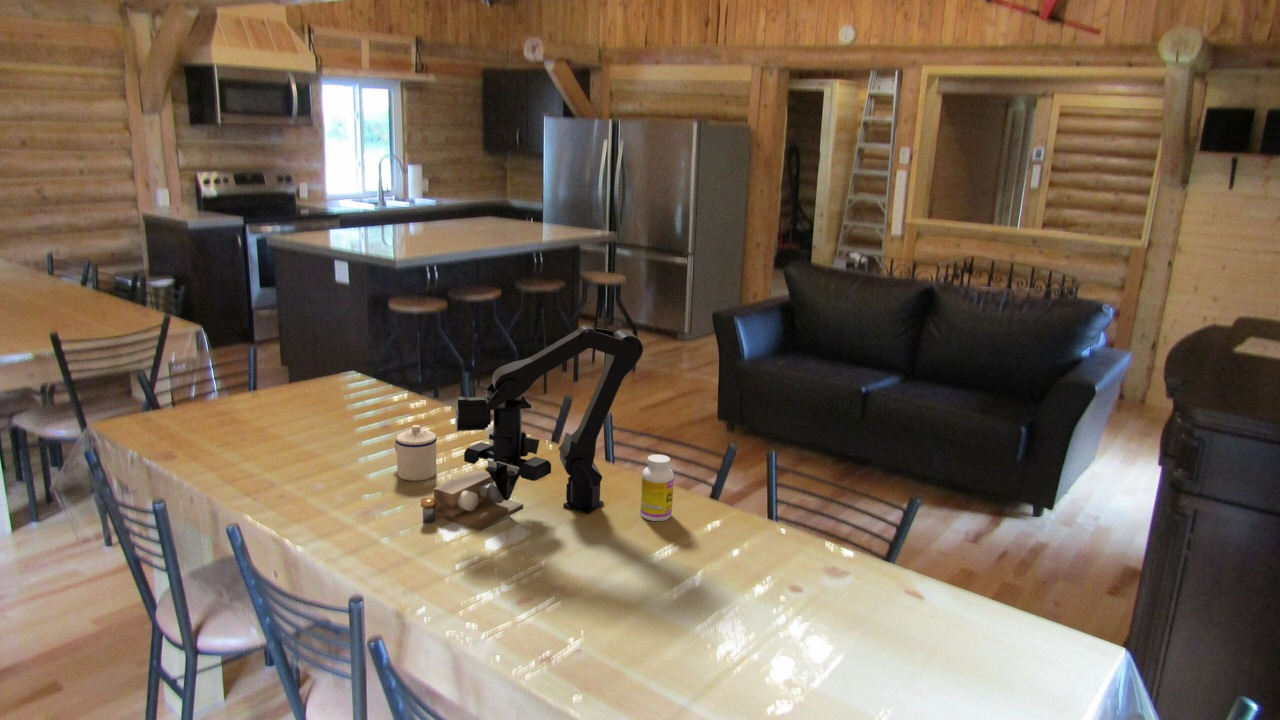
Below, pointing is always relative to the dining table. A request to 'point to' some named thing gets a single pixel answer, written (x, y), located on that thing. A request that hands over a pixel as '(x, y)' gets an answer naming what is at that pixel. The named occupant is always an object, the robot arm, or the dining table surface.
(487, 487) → the graphite knob
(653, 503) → the supplement bottle
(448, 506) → the walnut mount
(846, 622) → the dining table surface
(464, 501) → the cream knob
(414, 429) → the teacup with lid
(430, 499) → the copper domed knob
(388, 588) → the dining table surface
